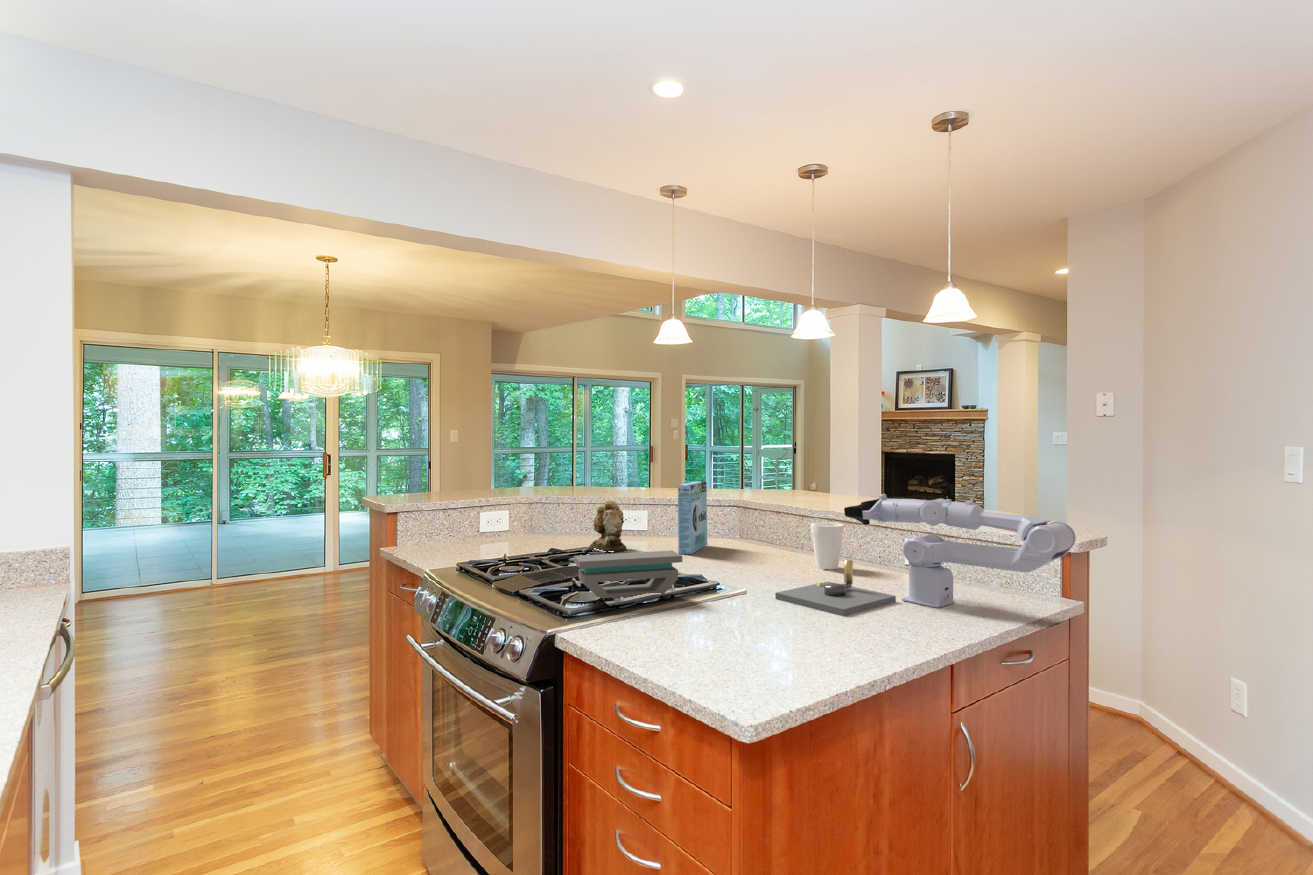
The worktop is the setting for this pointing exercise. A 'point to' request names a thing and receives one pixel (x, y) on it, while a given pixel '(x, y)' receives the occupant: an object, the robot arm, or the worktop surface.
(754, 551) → the worktop surface
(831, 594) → the crank
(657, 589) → the sharpening stone
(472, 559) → the worktop surface
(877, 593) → the dial plate
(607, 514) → the brown stone sculpture
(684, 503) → the gum box
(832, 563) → the foam cup
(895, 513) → the robot arm
